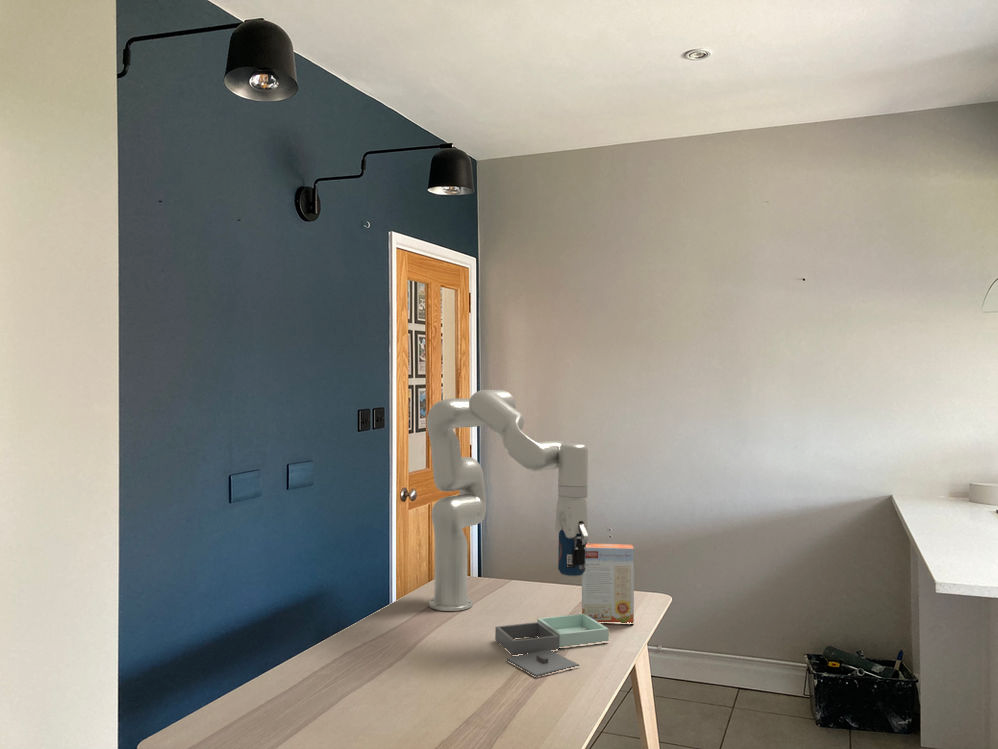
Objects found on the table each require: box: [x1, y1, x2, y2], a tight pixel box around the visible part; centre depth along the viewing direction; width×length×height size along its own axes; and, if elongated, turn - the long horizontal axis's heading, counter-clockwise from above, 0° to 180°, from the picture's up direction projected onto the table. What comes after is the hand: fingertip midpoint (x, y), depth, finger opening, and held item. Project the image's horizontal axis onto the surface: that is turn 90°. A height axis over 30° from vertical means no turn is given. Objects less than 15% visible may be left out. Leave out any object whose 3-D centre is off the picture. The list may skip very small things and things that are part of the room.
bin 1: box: [494, 621, 560, 655], centre depth 195 cm, size 12×12×4 cm
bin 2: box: [536, 613, 610, 647], centre depth 202 cm, size 14×14×4 cm
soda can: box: [557, 528, 586, 578], centre depth 202 cm, size 7×7×12 cm
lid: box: [505, 649, 580, 677], centre depth 183 cm, size 12×12×2 cm
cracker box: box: [581, 543, 635, 623], centre depth 216 cm, size 14×6×21 cm, turn 84°
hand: (571, 560), depth 202 cm, fingers closed on soda can, 6 cm apart
